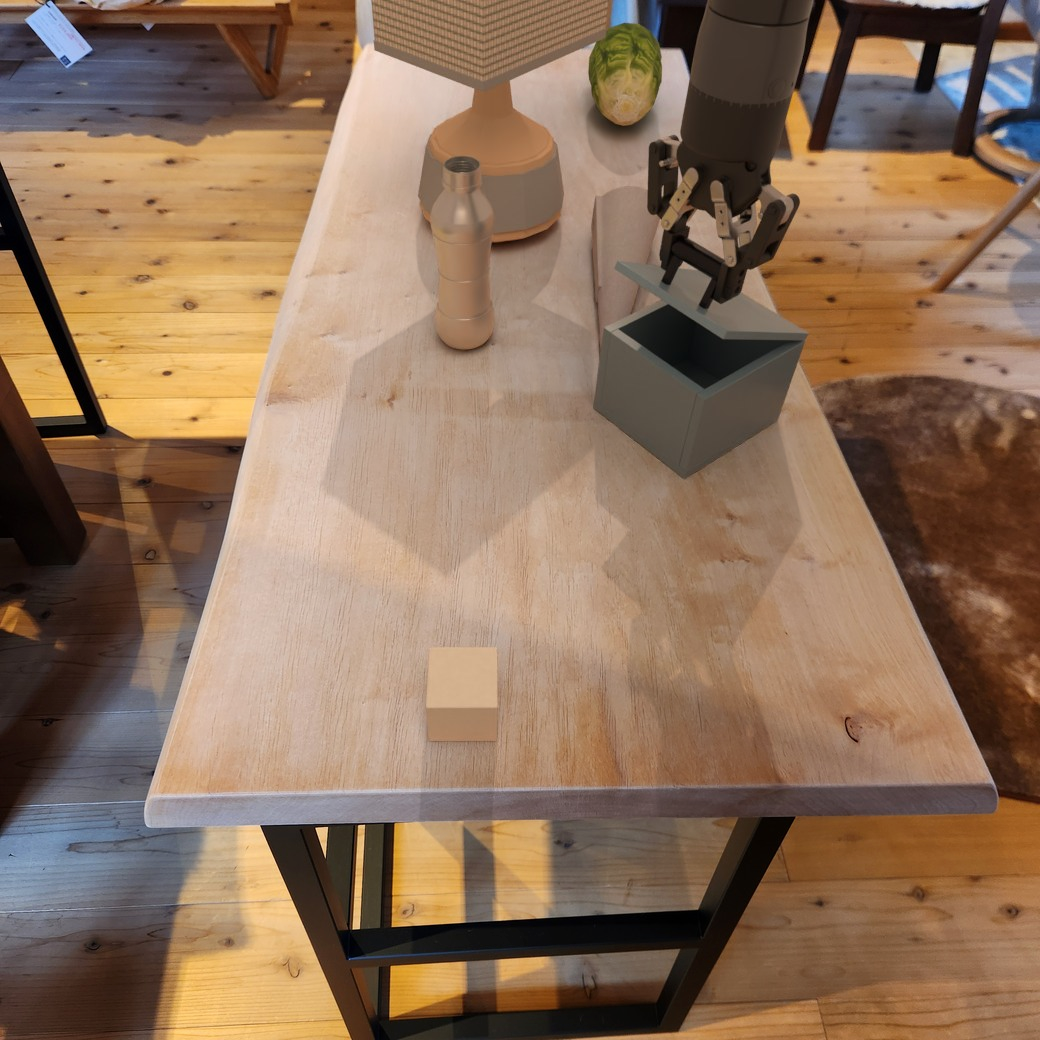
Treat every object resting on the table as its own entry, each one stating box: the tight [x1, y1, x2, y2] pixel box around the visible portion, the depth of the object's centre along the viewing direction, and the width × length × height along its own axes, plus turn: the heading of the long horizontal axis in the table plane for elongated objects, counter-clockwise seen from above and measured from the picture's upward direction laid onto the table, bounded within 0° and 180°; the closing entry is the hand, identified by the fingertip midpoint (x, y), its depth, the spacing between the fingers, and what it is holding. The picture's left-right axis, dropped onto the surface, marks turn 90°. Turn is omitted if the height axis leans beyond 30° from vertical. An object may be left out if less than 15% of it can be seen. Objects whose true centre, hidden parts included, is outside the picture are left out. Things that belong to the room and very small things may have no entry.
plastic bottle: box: [429, 156, 496, 350], centre depth 87 cm, size 6×7×20 cm
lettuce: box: [587, 22, 663, 127], centre depth 131 cm, size 12×21×11 cm, turn 176°
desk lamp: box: [370, 0, 609, 243], centre depth 99 cm, size 22×19×37 cm
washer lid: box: [614, 235, 810, 341], centre depth 77 cm, size 15×13×5 cm
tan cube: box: [425, 646, 499, 742], centre depth 62 cm, size 5×5×5 cm
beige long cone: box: [590, 185, 661, 350], centre depth 100 cm, size 8×9×26 cm
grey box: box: [592, 299, 806, 480], centre depth 84 cm, size 14×13×10 cm
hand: (696, 282), depth 74 cm, fingers closed on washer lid, 5 cm apart
